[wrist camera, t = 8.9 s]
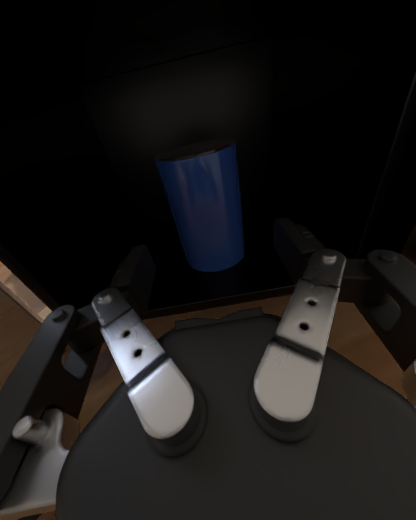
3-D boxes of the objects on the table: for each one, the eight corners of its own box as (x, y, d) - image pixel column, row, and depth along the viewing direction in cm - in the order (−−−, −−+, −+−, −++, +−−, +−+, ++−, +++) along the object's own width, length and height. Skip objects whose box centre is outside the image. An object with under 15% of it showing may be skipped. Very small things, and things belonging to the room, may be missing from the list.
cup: (224, 280, 18) (201, 159, 12) (173, 262, 22) (136, 161, 16) (256, 242, 22) (251, 134, 16) (208, 232, 25) (189, 141, 19)
